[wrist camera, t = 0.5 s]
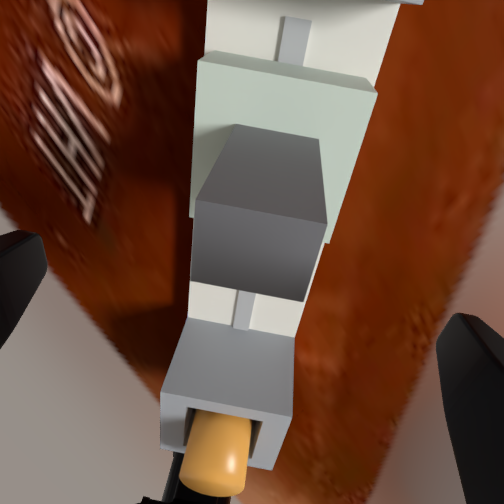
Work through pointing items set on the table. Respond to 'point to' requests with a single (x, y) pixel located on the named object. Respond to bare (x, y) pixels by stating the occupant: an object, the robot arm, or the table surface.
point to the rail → (288, 311)
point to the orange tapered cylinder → (216, 454)
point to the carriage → (270, 169)
